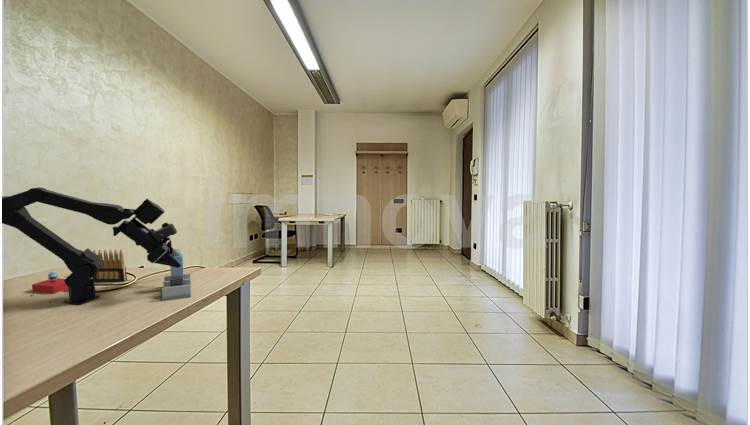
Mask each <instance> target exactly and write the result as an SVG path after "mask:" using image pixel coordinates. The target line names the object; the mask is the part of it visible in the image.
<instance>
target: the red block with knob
mask: <svg viewBox="0 0 750 425" xmlns="http://www.w3.org/2000/svg"><path fill="white" fill-rule="evenodd" d="M65 279H66V278H59V276H58V273H57V272H55V271H50V272H49V273H48V274H47V279H45V280H42V281H39V282H36V283H33V284H31V289H32V290H31V291H32V293H40V294H52V295H53V294H55V295H56V294H58V293H60V292H63V291H66V290H68V286H67V285H66V283H65V282H64V280H65Z"/></svg>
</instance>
